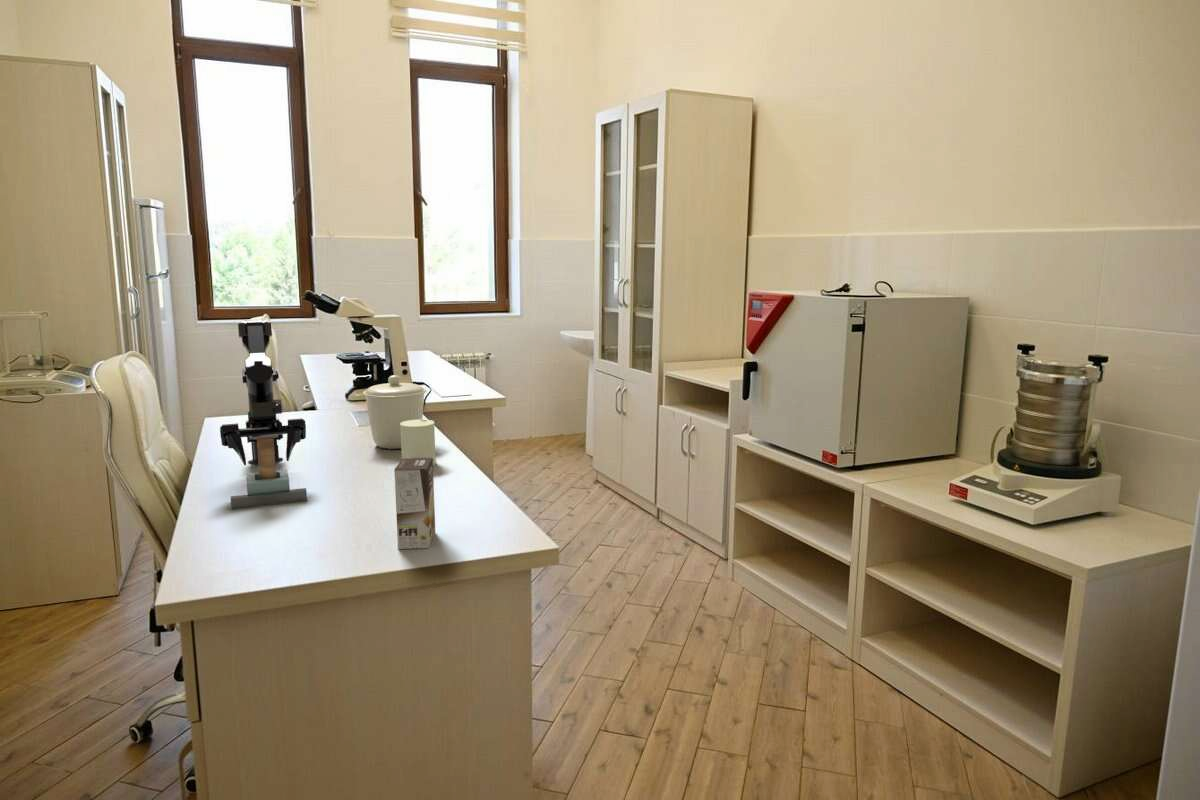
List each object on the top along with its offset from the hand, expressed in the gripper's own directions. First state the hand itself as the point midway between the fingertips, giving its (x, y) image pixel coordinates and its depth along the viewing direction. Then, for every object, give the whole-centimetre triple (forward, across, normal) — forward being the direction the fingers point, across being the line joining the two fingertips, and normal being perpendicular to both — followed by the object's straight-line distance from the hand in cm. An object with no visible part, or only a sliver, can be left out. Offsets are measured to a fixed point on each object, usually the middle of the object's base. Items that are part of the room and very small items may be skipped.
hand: (266, 462), depth 187 cm
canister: (-21, +36, +34) cm, 54 cm away
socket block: (+6, 0, +6) cm, 8 cm away
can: (-4, +38, +16) cm, 42 cm away
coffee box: (+36, +26, -25) cm, 51 cm away
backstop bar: (+10, 0, +1) cm, 10 cm away
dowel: (+6, 0, +4) cm, 7 cm away
